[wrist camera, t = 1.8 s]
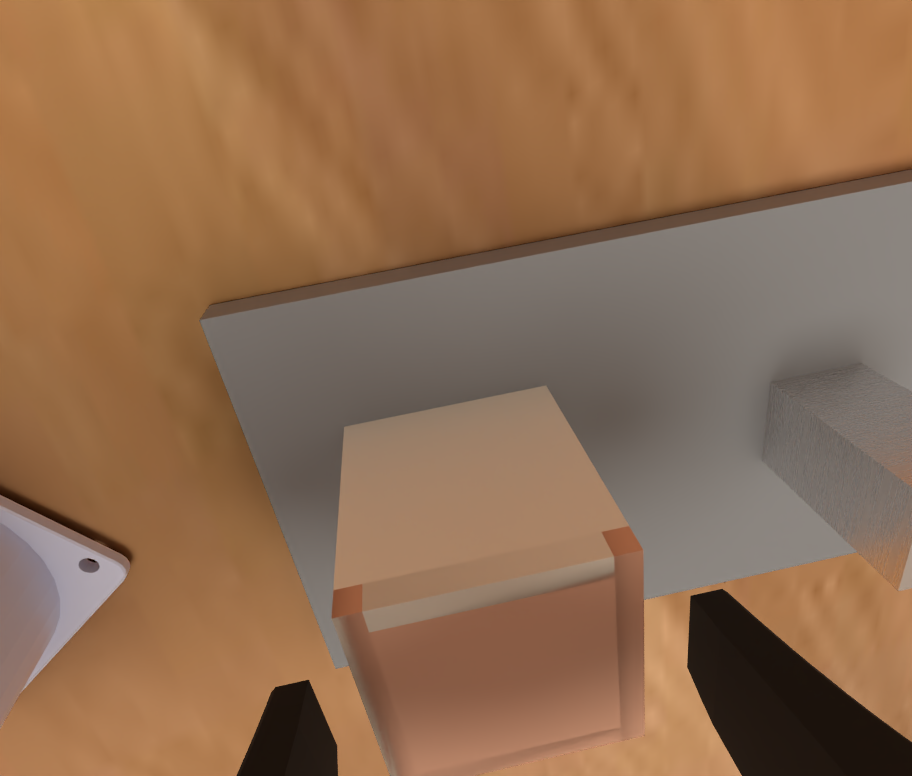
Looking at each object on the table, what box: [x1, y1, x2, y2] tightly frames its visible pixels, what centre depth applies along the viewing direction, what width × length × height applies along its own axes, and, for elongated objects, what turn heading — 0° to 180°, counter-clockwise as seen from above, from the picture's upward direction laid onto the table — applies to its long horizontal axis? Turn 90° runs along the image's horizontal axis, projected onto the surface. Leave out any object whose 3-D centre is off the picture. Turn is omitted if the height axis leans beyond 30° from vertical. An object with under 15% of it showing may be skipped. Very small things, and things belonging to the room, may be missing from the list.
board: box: [199, 169, 912, 669], centre depth 17 cm, size 20×12×1 cm, turn 99°
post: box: [762, 363, 912, 591], centre depth 15 cm, size 3×3×6 cm
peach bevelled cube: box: [331, 386, 645, 776], centre depth 13 cm, size 5×5×6 cm
